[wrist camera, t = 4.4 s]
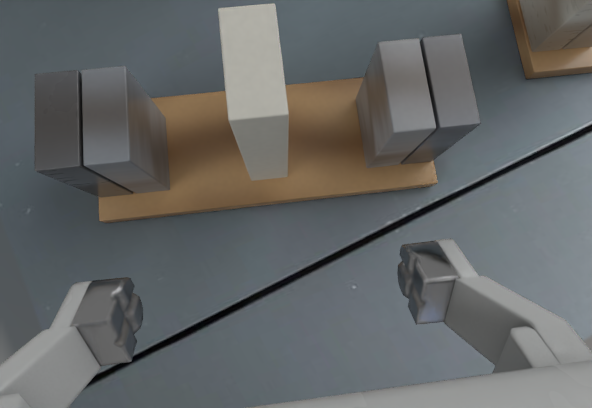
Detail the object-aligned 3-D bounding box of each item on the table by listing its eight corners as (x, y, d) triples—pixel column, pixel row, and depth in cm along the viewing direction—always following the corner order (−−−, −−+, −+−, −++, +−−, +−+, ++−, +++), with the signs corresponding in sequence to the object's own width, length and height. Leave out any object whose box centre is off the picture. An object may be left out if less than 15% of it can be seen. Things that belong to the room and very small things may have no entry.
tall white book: (287, 177, 25) (288, 114, 15) (251, 181, 25) (228, 120, 15) (279, 106, 26) (275, 2, 16) (244, 109, 26) (217, 7, 16)
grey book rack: (432, 186, 26) (490, 152, 19) (106, 223, 25) (30, 202, 18) (412, 78, 27) (459, 7, 20) (102, 109, 26) (31, 46, 19)
